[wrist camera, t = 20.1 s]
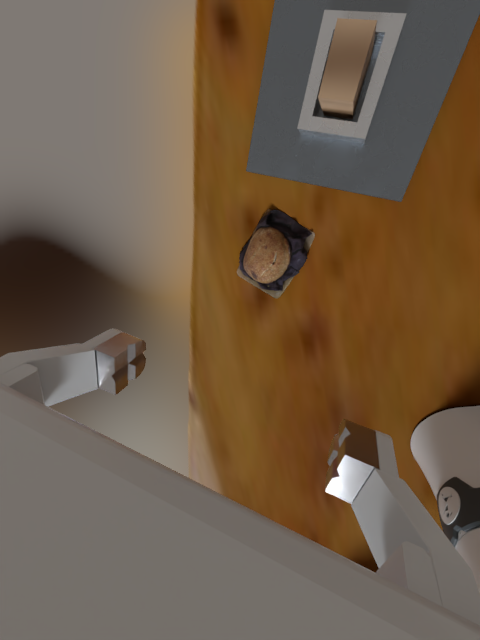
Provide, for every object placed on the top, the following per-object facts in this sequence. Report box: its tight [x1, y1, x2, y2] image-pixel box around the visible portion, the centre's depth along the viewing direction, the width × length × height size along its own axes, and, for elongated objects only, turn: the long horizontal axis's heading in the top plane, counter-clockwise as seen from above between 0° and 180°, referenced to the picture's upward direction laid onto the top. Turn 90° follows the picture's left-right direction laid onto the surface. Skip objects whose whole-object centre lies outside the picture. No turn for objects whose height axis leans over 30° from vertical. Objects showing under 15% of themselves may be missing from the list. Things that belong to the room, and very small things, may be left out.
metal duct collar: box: [246, 0, 480, 202], centre depth 27 cm, size 18×18×4 cm
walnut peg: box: [318, 18, 377, 119], centre depth 25 cm, size 5×3×6 cm, turn 170°
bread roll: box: [237, 209, 315, 298], centre depth 36 cm, size 11×8×4 cm
